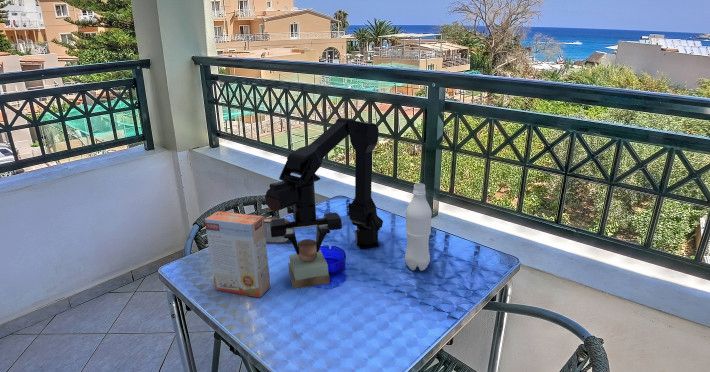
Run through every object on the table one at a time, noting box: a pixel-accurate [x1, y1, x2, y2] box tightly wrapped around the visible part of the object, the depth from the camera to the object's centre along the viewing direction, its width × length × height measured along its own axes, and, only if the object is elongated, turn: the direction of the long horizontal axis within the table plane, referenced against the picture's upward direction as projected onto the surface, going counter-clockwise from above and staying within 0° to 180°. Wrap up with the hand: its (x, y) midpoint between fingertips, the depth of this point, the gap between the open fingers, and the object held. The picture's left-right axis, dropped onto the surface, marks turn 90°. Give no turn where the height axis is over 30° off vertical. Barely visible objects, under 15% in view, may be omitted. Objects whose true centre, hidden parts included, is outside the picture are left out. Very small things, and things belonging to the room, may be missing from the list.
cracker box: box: [204, 210, 271, 298], centre depth 109 cm, size 14×6×21 cm, turn 71°
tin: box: [263, 217, 291, 245], centre depth 137 cm, size 15×3×8 cm, turn 84°
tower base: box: [288, 262, 331, 290], centre depth 117 cm, size 10×10×3 cm
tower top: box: [289, 249, 329, 280], centre depth 116 cm, size 9×9×3 cm
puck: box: [297, 238, 317, 261], centre depth 114 cm, size 5×5×4 cm
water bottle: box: [404, 182, 433, 272], centre depth 117 cm, size 7×7×25 cm
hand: (307, 252), depth 115 cm, fingers closed on puck, 5 cm apart
